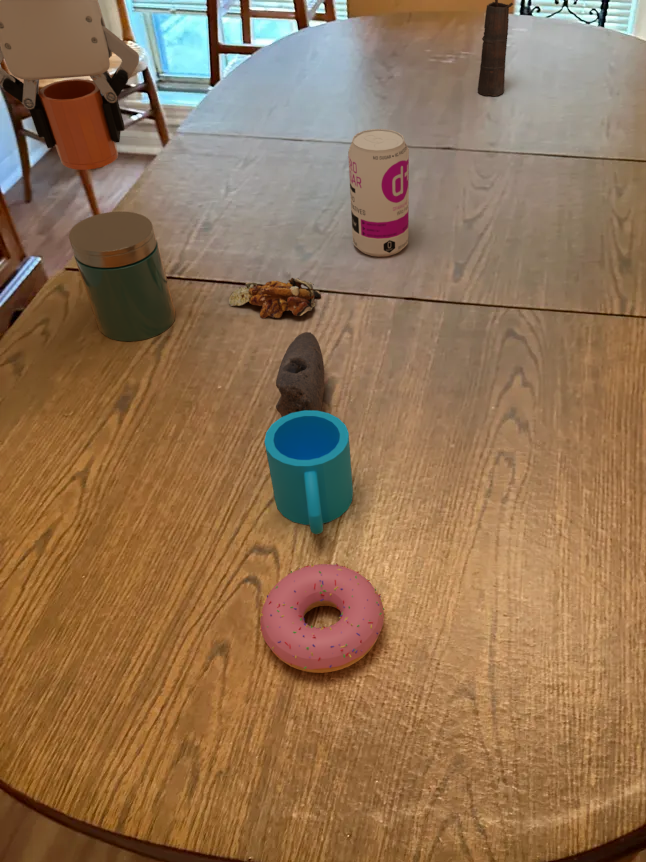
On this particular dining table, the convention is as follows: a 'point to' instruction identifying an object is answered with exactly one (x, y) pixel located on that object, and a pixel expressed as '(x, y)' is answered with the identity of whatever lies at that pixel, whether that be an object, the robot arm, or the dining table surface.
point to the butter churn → (494, 49)
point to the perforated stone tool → (301, 376)
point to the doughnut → (327, 644)
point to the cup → (78, 123)
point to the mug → (310, 467)
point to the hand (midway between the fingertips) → (84, 138)
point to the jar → (130, 298)
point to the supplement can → (379, 191)
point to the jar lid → (112, 239)
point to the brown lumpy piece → (277, 297)
